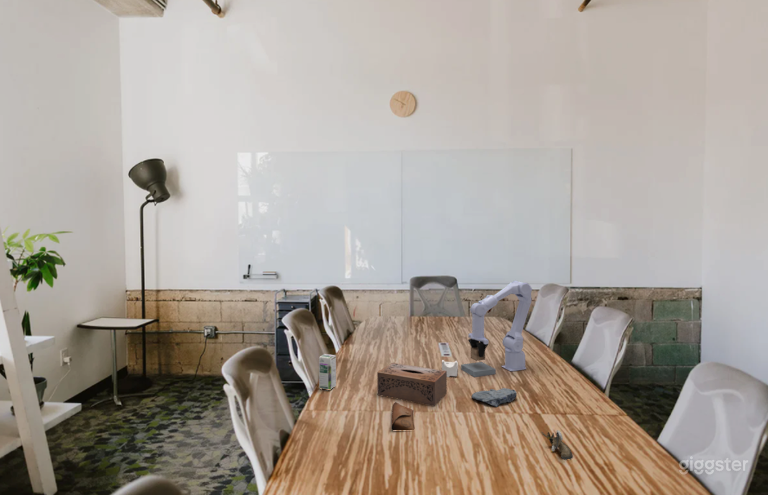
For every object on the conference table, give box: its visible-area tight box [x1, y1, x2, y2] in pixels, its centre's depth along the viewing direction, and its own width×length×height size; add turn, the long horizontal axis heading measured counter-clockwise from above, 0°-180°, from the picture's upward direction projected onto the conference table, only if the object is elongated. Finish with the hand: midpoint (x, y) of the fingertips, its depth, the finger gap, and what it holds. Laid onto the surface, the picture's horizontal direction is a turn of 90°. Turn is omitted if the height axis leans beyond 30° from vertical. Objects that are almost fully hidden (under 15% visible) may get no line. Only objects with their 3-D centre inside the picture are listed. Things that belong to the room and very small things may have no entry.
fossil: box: [471, 387, 518, 408], centre depth 170 cm, size 13×18×4 cm
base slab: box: [460, 361, 497, 378], centre depth 204 cm, size 12×12×2 cm
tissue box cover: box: [376, 362, 448, 407], centre depth 176 cm, size 26×14×10 cm, turn 63°
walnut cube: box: [470, 347, 486, 362], centre depth 203 cm, size 5×5×5 cm
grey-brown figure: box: [540, 430, 574, 461], centre depth 129 cm, size 8×7×9 cm
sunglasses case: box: [390, 401, 415, 431], centre depth 152 cm, size 18×7×7 cm
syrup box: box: [318, 353, 337, 390], centre depth 183 cm, size 6×6×14 cm
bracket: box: [441, 359, 459, 378], centre depth 203 cm, size 13×7×8 cm, turn 168°
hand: (478, 355), depth 203 cm, fingers closed on walnut cube, 5 cm apart
